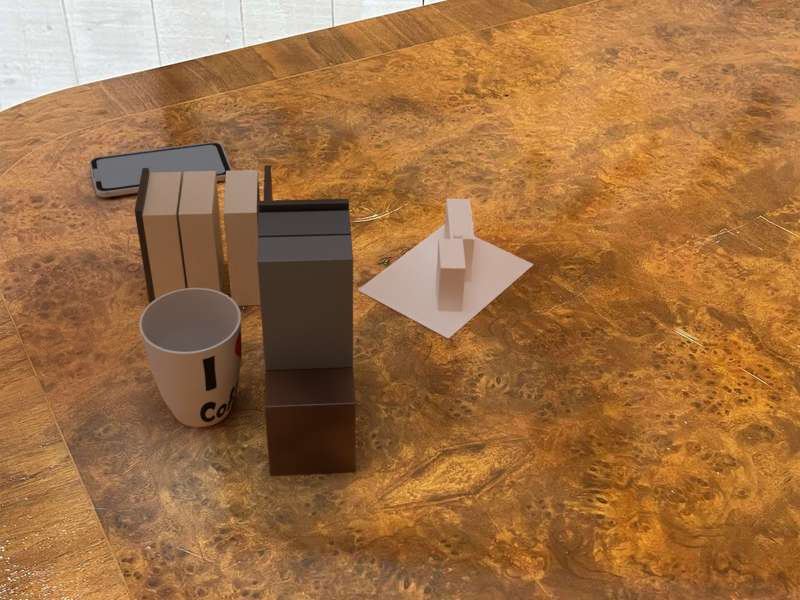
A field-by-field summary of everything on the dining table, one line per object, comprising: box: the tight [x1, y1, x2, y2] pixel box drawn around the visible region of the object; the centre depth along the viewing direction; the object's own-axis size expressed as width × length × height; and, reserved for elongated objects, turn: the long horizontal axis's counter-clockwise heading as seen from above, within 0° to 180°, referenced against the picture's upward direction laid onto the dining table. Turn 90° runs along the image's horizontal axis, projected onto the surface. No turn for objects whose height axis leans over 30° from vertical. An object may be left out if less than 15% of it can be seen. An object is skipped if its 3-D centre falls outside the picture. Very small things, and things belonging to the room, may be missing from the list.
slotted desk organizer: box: [134, 164, 274, 305], centre depth 102 cm, size 12×7×12 cm, turn 95°
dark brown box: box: [264, 366, 357, 476], centre depth 89 cm, size 7×12×8 cm, turn 5°
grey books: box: [257, 198, 354, 371], centre depth 84 cm, size 7×7×12 cm
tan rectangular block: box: [222, 169, 261, 307], centre depth 102 cm, size 7×3×11 cm, turn 5°
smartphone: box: [89, 141, 233, 198], centre depth 120 cm, size 7×1×15 cm
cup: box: [138, 288, 243, 428], centre depth 89 cm, size 8×8×10 cm
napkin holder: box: [357, 198, 535, 340], centre depth 105 cm, size 15×11×6 cm
